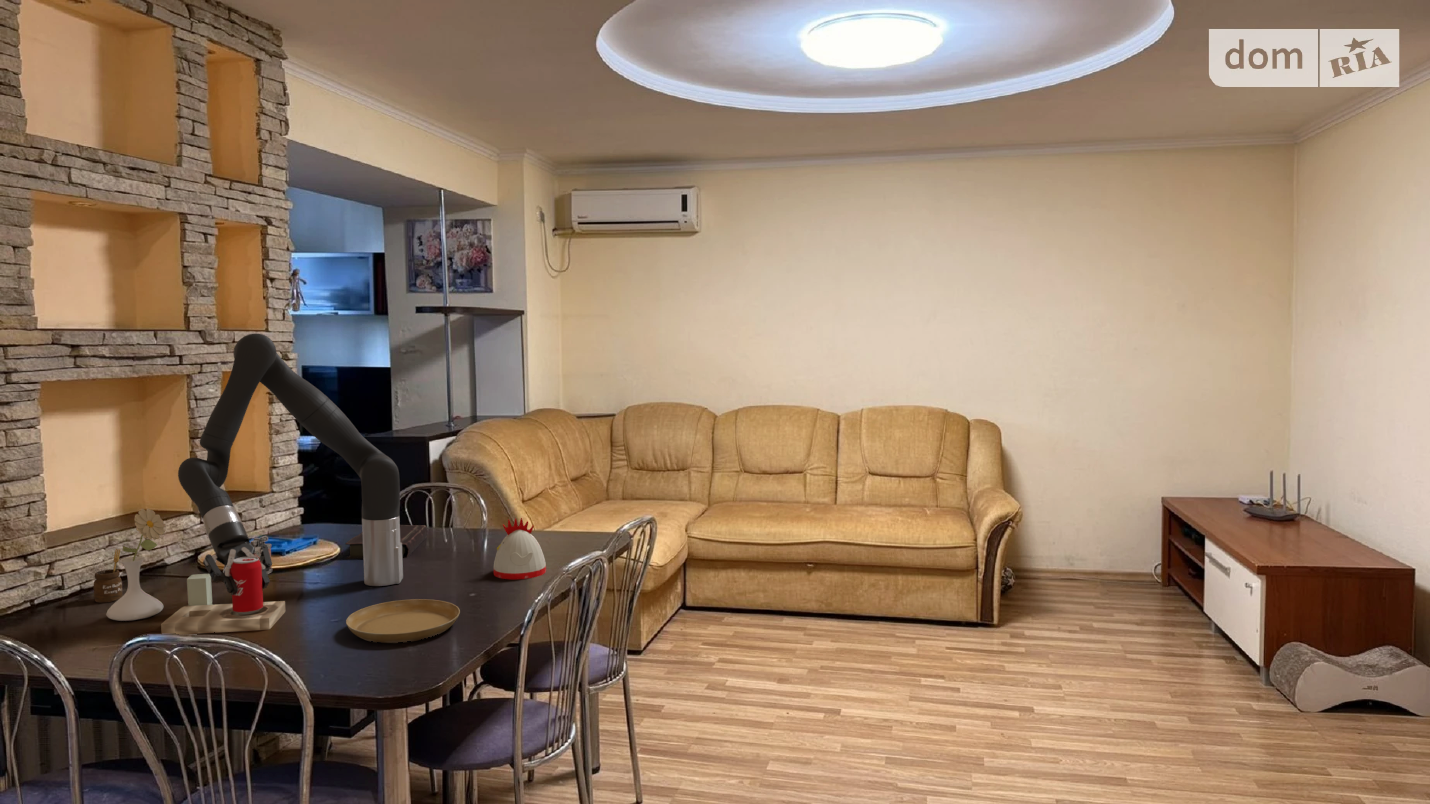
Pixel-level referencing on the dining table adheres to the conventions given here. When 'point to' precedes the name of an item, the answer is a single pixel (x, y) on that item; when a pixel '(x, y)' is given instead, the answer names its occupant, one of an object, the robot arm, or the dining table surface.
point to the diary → (408, 538)
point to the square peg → (199, 590)
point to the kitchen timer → (519, 554)
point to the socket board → (221, 619)
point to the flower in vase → (135, 599)
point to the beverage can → (247, 585)
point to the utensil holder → (108, 583)
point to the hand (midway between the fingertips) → (250, 589)
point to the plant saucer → (403, 620)
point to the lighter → (258, 543)
